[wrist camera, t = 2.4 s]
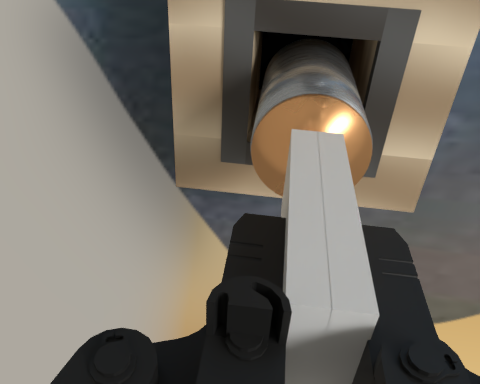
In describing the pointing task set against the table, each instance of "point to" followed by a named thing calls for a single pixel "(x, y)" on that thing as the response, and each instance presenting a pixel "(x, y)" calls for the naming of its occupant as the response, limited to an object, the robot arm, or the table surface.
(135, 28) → the table surface
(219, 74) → the block
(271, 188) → the peg
